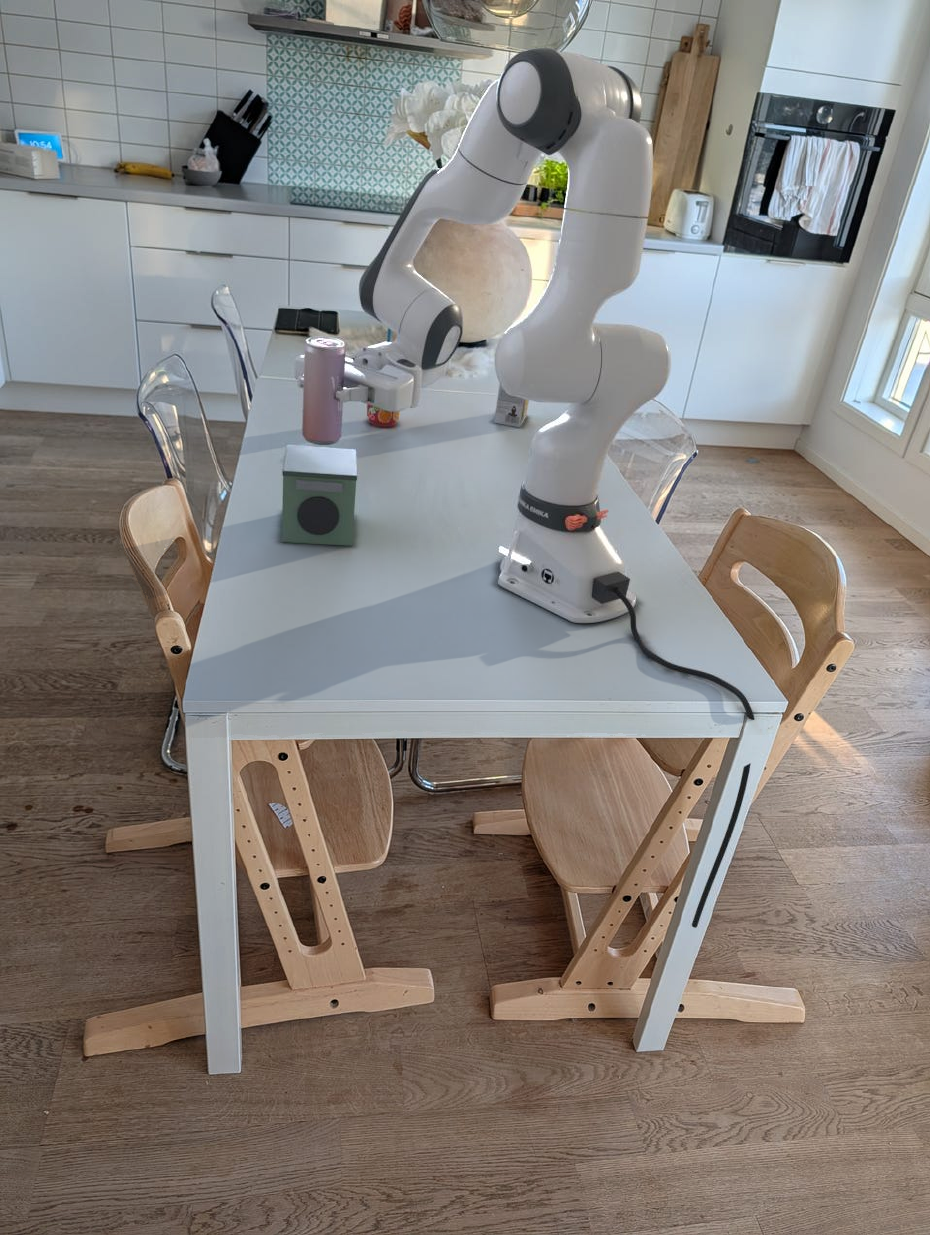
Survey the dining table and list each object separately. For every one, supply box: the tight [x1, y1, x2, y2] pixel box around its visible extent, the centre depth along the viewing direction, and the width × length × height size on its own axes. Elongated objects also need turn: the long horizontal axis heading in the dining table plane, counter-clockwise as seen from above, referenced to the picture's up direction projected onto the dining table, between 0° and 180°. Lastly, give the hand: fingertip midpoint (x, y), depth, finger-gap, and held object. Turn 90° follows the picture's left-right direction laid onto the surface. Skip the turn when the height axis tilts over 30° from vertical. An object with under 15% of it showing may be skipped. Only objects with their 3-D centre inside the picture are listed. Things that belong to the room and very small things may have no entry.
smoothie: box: [366, 328, 400, 428], centre depth 192 cm, size 8×8×20 cm
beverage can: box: [301, 336, 346, 446], centre depth 137 cm, size 6×6×15 cm
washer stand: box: [281, 444, 358, 547], centre depth 146 cm, size 12×11×12 cm
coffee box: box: [493, 383, 530, 428], centre depth 205 cm, size 9×6×16 cm
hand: (319, 389), depth 136 cm, fingers closed on beverage can, 6 cm apart
